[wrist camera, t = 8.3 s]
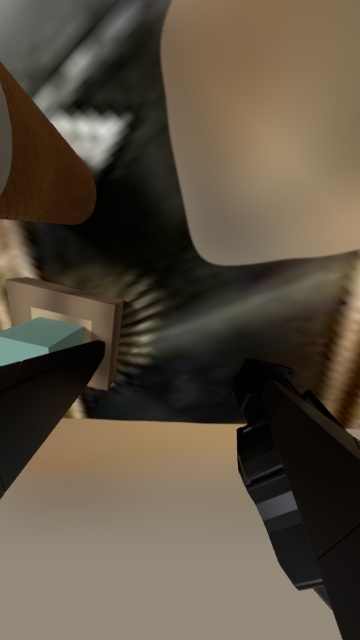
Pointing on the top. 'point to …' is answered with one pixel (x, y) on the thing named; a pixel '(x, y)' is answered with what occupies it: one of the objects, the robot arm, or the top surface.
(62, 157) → the disposable coffee cup
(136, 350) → the top surface
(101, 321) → the walnut base
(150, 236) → the top surface
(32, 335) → the teal cube
